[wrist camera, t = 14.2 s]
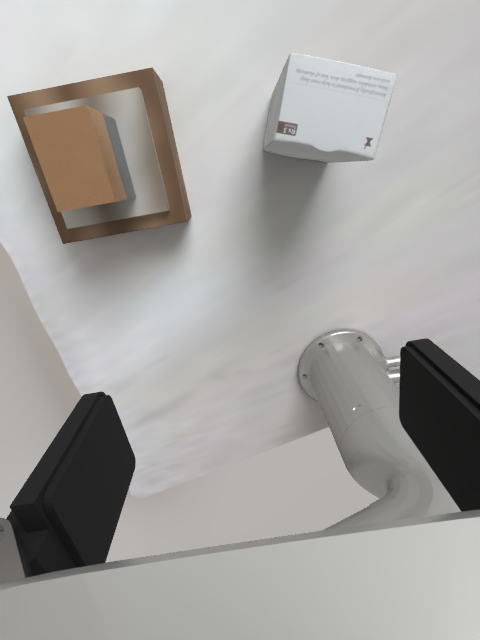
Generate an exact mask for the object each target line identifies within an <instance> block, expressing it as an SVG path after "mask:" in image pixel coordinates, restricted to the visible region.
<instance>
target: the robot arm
mask: <svg viewBox="0 0 480 640" xmlns="http://www.w3.org/2000/svg"><path fill="white" fill-rule="evenodd" d="M319 343H320V344H319ZM393 366H394V367H396V366H400V369H396V370H393V371H388V370H387V369H388V367H393ZM298 375H299V379H300V382H301V385H302V387H303V389H304V390H305V392H306V393H307V394H308V395H309V396H310V397H311V398H313V399H314V400H316V401H318V402H320V404H321V407H322V409H323V412H324V414H325V417H326V419H327V422H328V424H329V427H330V429H331V431H332V434H333V437H334V439H335V442H336V444H337V447H338V449H339V451H340V453H341V456H342V458H343V461H344V463H345V466H346V468H347V470H348V471H349V473H350V474H351V476H352V477H353V478H354V479H355V481H357V482H358V484H359V485H360V486H362V487H363V488H364V489H366V490H367V491H368V492H370V493H372V494H373V495H375V496H377V497H378V498H380V499H379V500H377V501H375V502H373V503H372V504H370V506H368V507H367V508H364V509H363V510H361V511H359V512H357V513H355V514H353V515H351V516H349V517H347V518H345V519H344V520H342V521H340V522H338V523H336V524H334V525H332V526H330V527H328V528H326V529H325V530H323V531H317V532H309V533H302V534H295V535H288V536H282V537H274V538H268V539H261V540H254V541H248V542H240V543H233V544H226V545H220V546H213V547H206V548H200V549H193V550H186V551H180V552H173V553H167V554H160V555H153V556H146V557H140V558H134V559H127V560H120V561H114V562H108V563H105V561H106V558H107V555H108V552H109V549H110V545H111V542H112V539H113V536H114V533H115V530H116V526H117V523H118V520H119V517H120V514H121V511H122V507H123V504H124V501H125V498H126V495H127V492H128V489H129V485H130V482H131V479H132V476H133V473H134V470H135V456H134V454H133V451H132V448H131V446H130V443H129V441H128V438H127V436H126V433H125V431H124V428H123V426H122V423H121V420H120V418H119V415H118V413H117V410H116V408H115V405H114V403H113V400H112V398H111V396H109V395H106V394H105V393H104V392H97V393H90V394H85V395H83V396H82V397H81V399H80V401H79V402H78V403H77V405H76V406H75V408H74V410H73V411H72V413H71V414H70V416H69V417H68V419H67V420H66V422H65V423H64V425H63V426H62V428H61V429H60V431H59V432H58V434H57V435H56V437H55V438H54V440H53V442H52V443H51V445H50V446H49V447H48V449H47V451H46V452H45V454H44V455H43V457H42V458H41V460H40V461H39V463H38V464H37V466H36V467H35V469H34V471H33V472H32V474H31V475H30V476H29V478H28V479H27V481H26V482H25V484H24V486H23V487H22V489H21V490H20V492H19V493H18V495H17V496H16V498H15V499H14V501H13V502H12V504H11V505H10V508H11V510H12V511H11V512H10V514H9V516H8V517H7V519H4V518H0V640H480V380H478V379H477V378H476V377H474V376H473V375H472V374H471V373H470V372H469V371H467V370H466V369H465V368H464V367H462V366H461V365H460V364H459V363H457V362H456V361H455V360H454V359H453V358H451V357H450V356H449V355H448V354H446V353H445V352H444V351H443V350H442V349H440V348H439V347H438V346H437V345H435V344H434V343H433V342H432V341H431V340H429V339H420V340H414V341H408V342H407V343H406V346H405V347H402V348H401V352H400V356H395V357H392V358H385V357H383V353H382V351H381V349H380V347H379V346H378V345H377V343H376V342H375V341H374V340H373V339H372V338H371V337H369V336H368V335H366V334H364V333H362V332H359V331H356V330H348V329H342V330H336V331H332V332H329V333H326V334H324V335H322V336H320V337H318V338H317V339H316V340H314V341H313V342H312V343H311V344H310V345H309V346H308V347H307V348H306V350H305V351H304V353H303V354H302V356H301V359H300V362H299V367H298ZM397 382H400V390H399V389H398V387H397V386H396V385H395V384H394V383H397Z"/></svg>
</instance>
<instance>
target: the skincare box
mask: <svg viewBox="0 0 480 640" xmlns="http://www.w3.org/2000/svg"><path fill="white" fill-rule="evenodd" d="M396 79H397V74H394V73H390V72H386V71H381V70H377V69H372V68H368V67H363V66H359V65H354V64H350V63H345V62H340V61H335V60H329V59H325V58H320V57H315V56H309V55H304V54H298V53H292V52H291V53H290V55H289V57H288V59H287V61H286V64H285V65H284V67H283V70H282V73H281V75H280V77H279V80H278V82H277V84H276V86H275V89H274V91H273V93H272V98H271V104H270V109H269V115H268V121H267V127H266V133H265V139H264V145H263V151H266V152H270V153H274V154H278V155H283V156H288V157H294V158H301V159H308V160H318V161H322V162H327V163H330V162H331V163H332V162H350V161H368V160H374V158H375V154H376V150H377V147H378V143H379V140H380V137H381V133H382V129H383V125H384V122H385V118H386V114H387V111H388V107H389V103H390V100H391V96H392V92H393V89H394V86H395V82H396Z"/></svg>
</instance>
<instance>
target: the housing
mask: <svg viewBox="0 0 480 640" xmlns="http://www.w3.org/2000/svg"><path fill="white" fill-rule="evenodd" d="M23 119H24V122H25V125H26V127H27V130H28V133H29V136H30V138H31V141H32V144H33V146H34V149H35V152H36V155H37V157H38V160H39V163H40V166H41V168H42V171H43V174H44V176H45V179H46V182H47V185H48V187H49V190H50V193H51V195H52V198H53V201H54V204H55V206H56V209H57V212H62V211H67V210H73V209H78V208H84V207H89V206H95V205H100V204H106V203H111V202H117V201H121V200H125V199H129V198H133V197H136V194H135V191H134V187H133V183H132V180H131V176H130V172H129V169H128V165H127V161H126V158H125V154H124V150H123V147H122V143H121V139H120V136H119V132H118V128H117V125H116V121H115V119H113V118H111V117H109V116H107V115H105V114H103V113H101V112H99V111H97V110H95V109H93V108H91V107H89V106H87V105H85V106H80V107H75V108H69V109H64V110H59V111H54V112H48V113H43V114H38V115H33V116H27V117H23Z"/></svg>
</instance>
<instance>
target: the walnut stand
mask: <svg viewBox="0 0 480 640" xmlns="http://www.w3.org/2000/svg"><path fill="white" fill-rule="evenodd" d="M7 97H8V100H9V102H10V105H11V107H12V110H13V113H14V115H15V118H16V121H17V123H18V126H19V129H20V131H21V134H22V136H23V139H24V142H25V144H26V147H27V150H28V152H29V155H30V158H31V160H32V163H33V166H34V168H35V171H36V173H37V176H38V179H39V181H40V184H41V187H42V189H43V192H44V195H45V197H46V200H47V202H48V205H49V208H50V210H51V213H52V216H53V218H54V221H55V224H56V226H57V229H58V232H59V234H60V237H61V239H62V242H63V244H65V243H71V242H76V241H82V240H87V239H93V238H98V237H104V236H109V235H115V234H120V233H126V232H132V231H137V230H143V229H148V228H154V227H159V226H165V225H170V224H176V223H181V222H187V221H188V220H189V219H190V217H191V212H190V207H189V202H188V198H187V193H186V189H185V184H184V180H183V175H182V170H181V166H180V161H179V157H178V152H177V148H176V143H175V138H174V134H173V129H172V125H171V120H170V116H169V111H168V107H167V102H166V97H165V93H164V88H163V84H162V81H161V79H160V78H159V76H158V75H157V74H156V72H155V71H154V69H153V68H148V69H143V70H138V71H133V72H128V73H122V74H117V75H112V76H107V77H102V78H97V79H92V80H87V81H82V82H77V83H72V84H67V85H62V86H57V87H52V88H47V89H42V90H37V91H32V92H27V93H22V94H17V95H12V96H7ZM85 105H87V106H89V107H91V108H93V109H95V110H97V111H99V112H101V113H103V114H105V115H107V116H109V117H111V118H113V119H115V121H116V125H117V128H118V132H119V136H120V139H121V143H122V147H123V150H124V154H125V158H126V161H127V165H128V169H129V172H130V176H131V180H132V183H133V187H134V191H135V194H136V197H133V198H129V199H125V200H121V201H117V202H111V203H106V204H100V205H95V206H89V207H84V208H78V209H73V210H67V211H62V212H57V209H56V206H55V204H54V201H53V198H52V195H51V193H50V190H49V187H48V185H47V182H46V179H45V176H44V174H43V171H42V168H41V166H40V163H39V160H38V157H37V155H36V152H35V149H34V146H33V144H32V141H31V138H30V136H29V133H28V130H27V127H26V125H25V122H24V119H23V117H27V116H33V115H38V114H43V113H48V112H54V111H59V110H64V109H69V108H75V107H80V106H85Z"/></svg>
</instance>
